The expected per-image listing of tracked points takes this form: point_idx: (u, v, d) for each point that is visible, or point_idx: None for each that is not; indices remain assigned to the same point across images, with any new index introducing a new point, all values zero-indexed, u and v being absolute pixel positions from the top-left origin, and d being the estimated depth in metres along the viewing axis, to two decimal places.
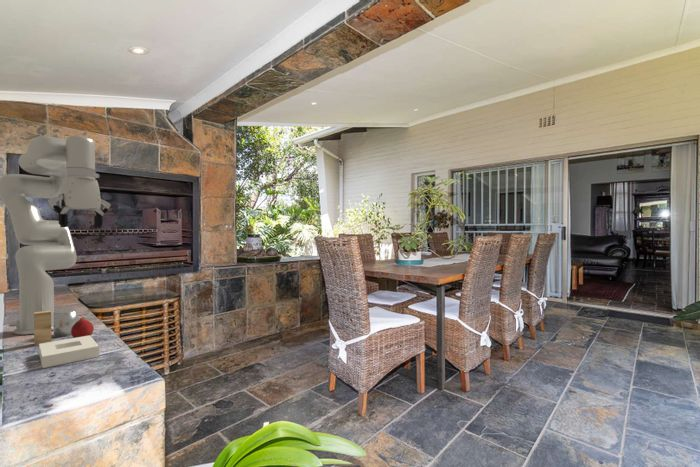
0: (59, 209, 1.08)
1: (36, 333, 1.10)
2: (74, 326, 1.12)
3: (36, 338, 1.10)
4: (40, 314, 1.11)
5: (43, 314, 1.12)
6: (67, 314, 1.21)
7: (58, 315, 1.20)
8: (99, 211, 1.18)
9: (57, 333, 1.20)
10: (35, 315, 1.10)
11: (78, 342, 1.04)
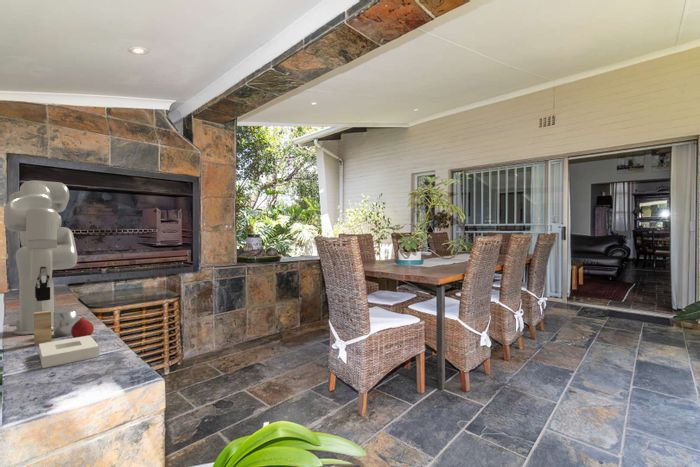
0: (46, 283, 1.09)
1: (36, 333, 1.10)
2: (74, 326, 1.12)
3: (36, 338, 1.10)
4: (40, 314, 1.11)
5: (43, 314, 1.12)
6: (67, 314, 1.21)
7: (58, 315, 1.20)
8: None
9: (57, 333, 1.20)
10: (35, 315, 1.10)
11: (78, 342, 1.04)
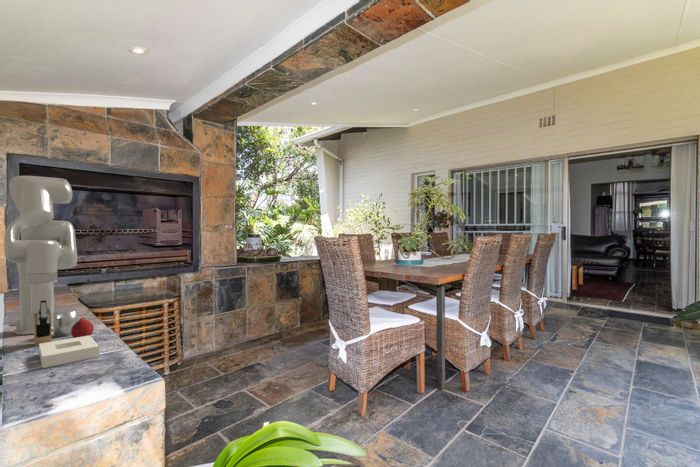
0: (46, 321, 1.10)
1: None
2: (74, 326, 1.12)
3: (36, 338, 1.10)
4: None
5: None
6: (67, 314, 1.21)
7: (58, 315, 1.20)
8: None
9: (57, 333, 1.20)
10: (35, 315, 1.10)
11: (78, 342, 1.04)
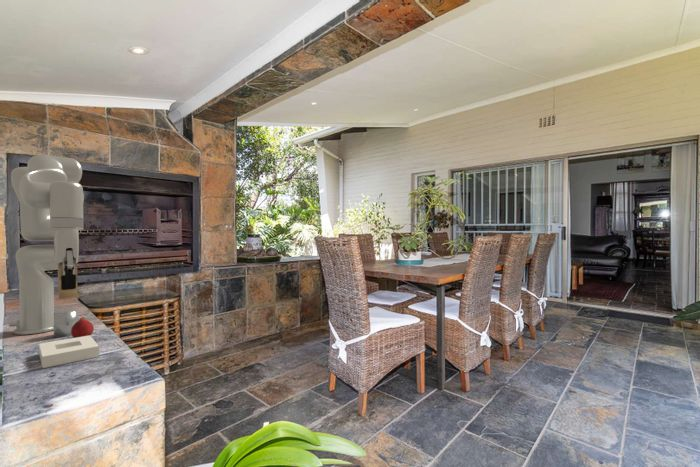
0: None
1: None
2: (74, 326, 1.12)
3: (61, 290, 0.98)
4: None
5: None
6: (67, 314, 1.21)
7: (58, 315, 1.20)
8: None
9: (57, 333, 1.20)
10: (60, 264, 0.98)
11: (78, 342, 1.04)
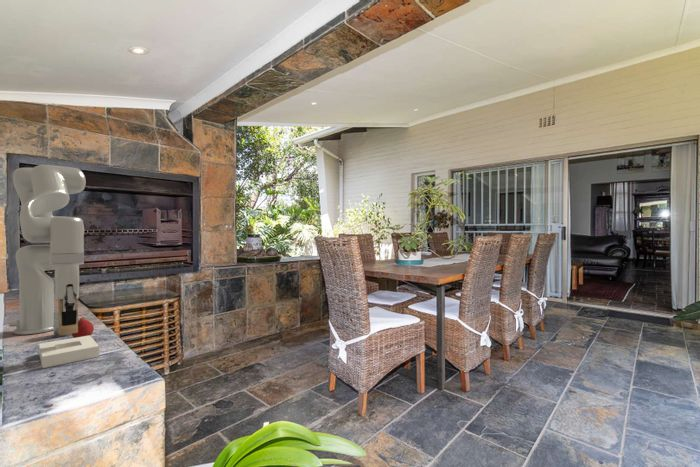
0: None
1: (61, 321, 0.98)
2: None
3: (61, 326, 0.98)
4: (66, 299, 0.99)
5: None
6: None
7: None
8: None
9: (57, 333, 1.20)
10: (60, 300, 0.98)
11: (78, 342, 1.04)
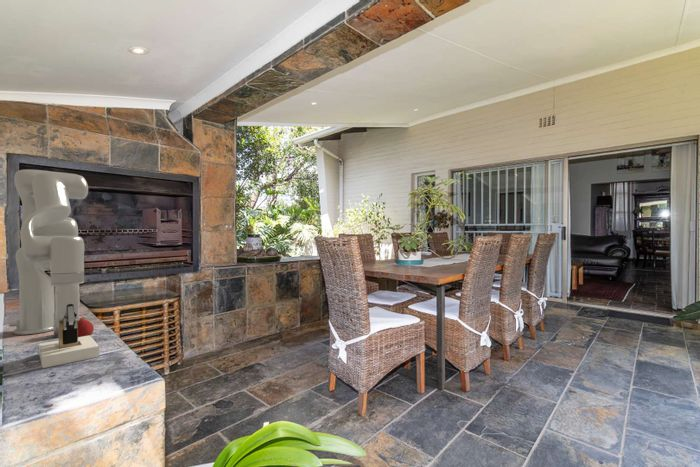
0: None
1: (61, 344, 0.98)
2: None
3: None
4: None
5: None
6: None
7: None
8: None
9: (57, 333, 1.20)
10: (60, 324, 0.98)
11: (78, 342, 1.04)
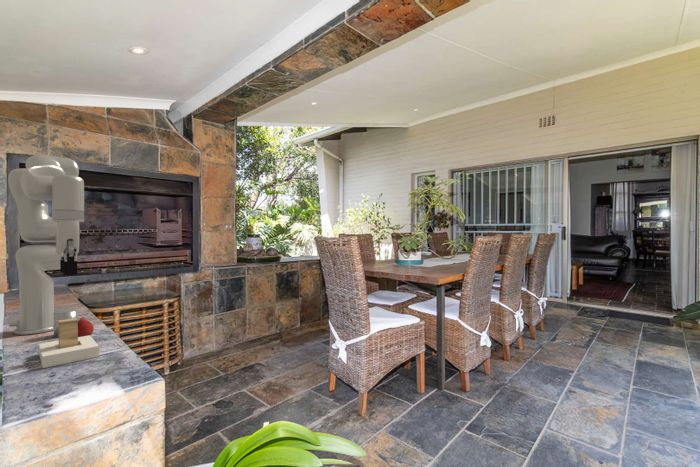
0: None
1: (61, 344, 0.98)
2: None
3: None
4: (66, 323, 0.98)
5: (69, 323, 0.99)
6: (67, 314, 1.21)
7: (58, 315, 1.20)
8: None
9: (57, 333, 1.20)
10: (60, 324, 0.98)
11: (78, 342, 1.04)
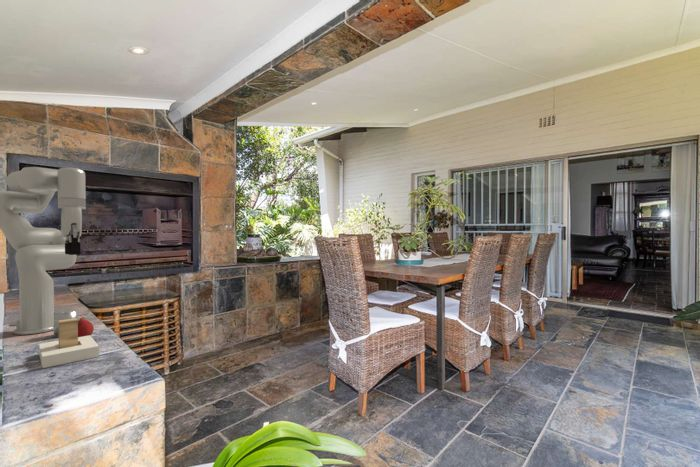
0: None
1: (61, 344, 0.98)
2: None
3: None
4: (66, 323, 0.98)
5: (69, 323, 0.99)
6: (67, 314, 1.21)
7: (58, 315, 1.20)
8: None
9: (57, 333, 1.20)
10: (60, 324, 0.98)
11: (78, 342, 1.04)
